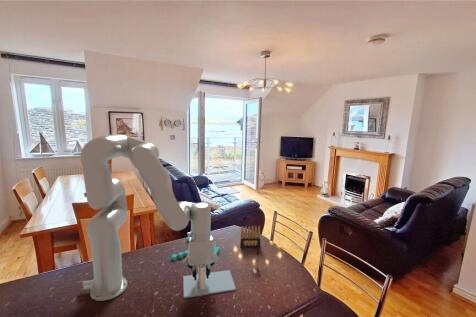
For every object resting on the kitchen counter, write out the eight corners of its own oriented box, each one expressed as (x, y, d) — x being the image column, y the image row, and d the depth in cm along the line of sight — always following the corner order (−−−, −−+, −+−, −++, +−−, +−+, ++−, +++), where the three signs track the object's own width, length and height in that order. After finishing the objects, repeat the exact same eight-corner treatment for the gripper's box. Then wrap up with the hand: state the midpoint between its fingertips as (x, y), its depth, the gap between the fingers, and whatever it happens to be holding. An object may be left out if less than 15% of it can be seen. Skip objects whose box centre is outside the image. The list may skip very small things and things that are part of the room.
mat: (183, 298, 86) (183, 296, 86) (183, 277, 98) (183, 276, 98) (235, 290, 91) (235, 288, 91) (229, 271, 103) (229, 270, 103)
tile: (199, 289, 90) (199, 268, 89) (198, 278, 97) (197, 258, 95) (205, 288, 91) (205, 267, 89) (203, 277, 97) (203, 257, 96)
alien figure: (171, 260, 110) (211, 266, 106) (171, 256, 110) (211, 262, 106) (188, 240, 130) (222, 244, 126) (188, 236, 129) (222, 240, 125)
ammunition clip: (259, 245, 125) (260, 224, 123) (260, 247, 123) (261, 226, 121) (240, 246, 124) (240, 224, 122) (240, 247, 122) (240, 226, 120)
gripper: (178, 241, 85) (179, 286, 88) (223, 237, 89) (223, 280, 92) (178, 232, 92) (179, 274, 95) (220, 228, 96) (220, 268, 99)
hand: (201, 276), depth 93 cm, fingers open, 4 cm apart
